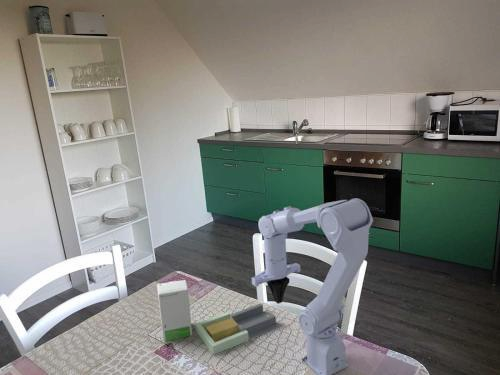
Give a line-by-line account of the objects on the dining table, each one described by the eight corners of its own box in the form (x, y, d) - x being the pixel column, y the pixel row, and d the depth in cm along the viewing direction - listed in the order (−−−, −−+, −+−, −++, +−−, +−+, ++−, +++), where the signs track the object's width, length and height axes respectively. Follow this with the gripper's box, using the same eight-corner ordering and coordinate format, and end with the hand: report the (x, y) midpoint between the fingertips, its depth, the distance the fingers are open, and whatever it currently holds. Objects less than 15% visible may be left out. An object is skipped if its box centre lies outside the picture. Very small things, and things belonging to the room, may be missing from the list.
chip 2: (239, 334, 111) (238, 324, 110) (226, 339, 109) (225, 329, 109) (232, 326, 115) (231, 317, 114) (220, 331, 113) (219, 322, 112)
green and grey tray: (279, 331, 113) (279, 319, 112) (213, 358, 104) (212, 346, 103) (258, 311, 123) (257, 300, 122) (196, 334, 114) (195, 323, 113)
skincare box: (163, 345, 110) (156, 295, 106) (162, 331, 116) (155, 283, 112) (194, 338, 112) (188, 289, 108) (191, 325, 119) (185, 278, 114)
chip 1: (225, 338, 110) (224, 329, 109) (212, 344, 108) (211, 334, 107) (219, 331, 113) (218, 322, 112) (206, 336, 111) (205, 327, 110)
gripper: (289, 244, 114) (291, 287, 117) (244, 258, 107) (248, 303, 111) (304, 253, 108) (305, 298, 111) (258, 268, 101) (261, 315, 105)
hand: (278, 301), depth 111 cm, fingers closed
